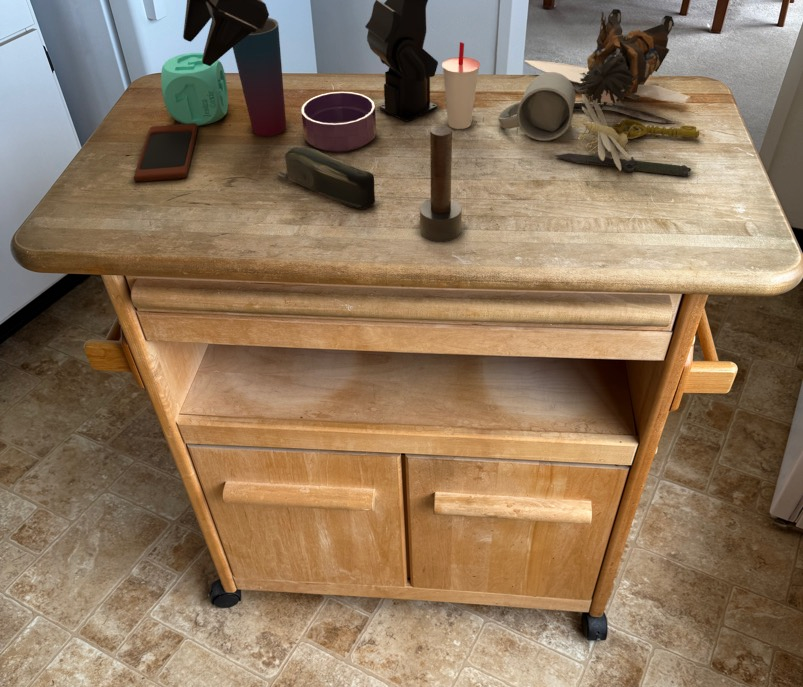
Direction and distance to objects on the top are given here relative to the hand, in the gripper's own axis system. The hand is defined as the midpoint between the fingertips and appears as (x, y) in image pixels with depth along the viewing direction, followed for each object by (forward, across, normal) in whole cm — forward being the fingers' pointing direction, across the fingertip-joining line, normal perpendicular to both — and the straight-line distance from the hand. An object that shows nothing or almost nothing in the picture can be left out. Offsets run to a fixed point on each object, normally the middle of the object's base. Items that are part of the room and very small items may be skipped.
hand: (196, 51), depth 97 cm
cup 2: (-7, +8, +37) cm, 39 cm away
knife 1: (-22, +8, +58) cm, 62 cm away
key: (-20, +25, +55) cm, 64 cm away
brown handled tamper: (+2, +31, +24) cm, 39 cm away
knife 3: (-16, +28, +48) cm, 58 cm away
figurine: (-31, +5, +62) cm, 70 cm away
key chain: (-22, +12, +57) cm, 62 cm away
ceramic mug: (-12, +15, +44) cm, 48 cm away
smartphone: (+14, -12, +5) cm, 19 cm away
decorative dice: (+11, -14, +10) cm, 20 cm away
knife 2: (-18, +19, +52) cm, 59 cm away
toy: (-14, +25, +46) cm, 54 cm away
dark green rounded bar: (+7, +16, +17) cm, 24 cm away
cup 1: (+7, -5, +16) cm, 18 cm away
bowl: (+2, +3, +23) cm, 23 cm away
